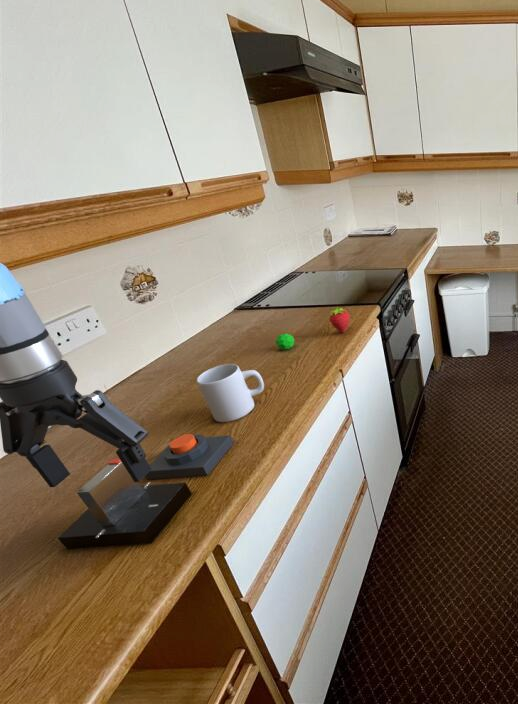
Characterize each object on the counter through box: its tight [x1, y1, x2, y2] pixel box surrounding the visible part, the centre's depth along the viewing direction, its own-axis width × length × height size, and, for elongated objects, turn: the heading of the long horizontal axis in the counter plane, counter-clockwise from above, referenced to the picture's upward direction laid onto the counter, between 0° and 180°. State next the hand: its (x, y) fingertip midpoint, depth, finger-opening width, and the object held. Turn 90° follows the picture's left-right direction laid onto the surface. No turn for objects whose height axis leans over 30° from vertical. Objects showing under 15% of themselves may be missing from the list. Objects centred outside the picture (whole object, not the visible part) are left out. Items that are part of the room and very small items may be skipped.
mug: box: [196, 363, 265, 423], centre depth 97 cm, size 12×8×11 cm
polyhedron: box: [275, 333, 295, 351], centre depth 126 cm, size 5×5×5 cm
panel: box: [57, 481, 193, 551], centre depth 71 cm, size 14×11×3 cm
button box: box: [144, 433, 234, 481], centre depth 83 cm, size 12×9×4 cm
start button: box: [169, 433, 197, 454], centre depth 82 cm, size 4×4×2 cm
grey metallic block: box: [76, 458, 146, 526], centre depth 69 cm, size 7×2×8 cm, turn 2°
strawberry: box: [329, 307, 350, 334], centre depth 132 cm, size 6×8×10 cm
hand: (102, 478), depth 67 cm, fingers open, 13 cm apart
